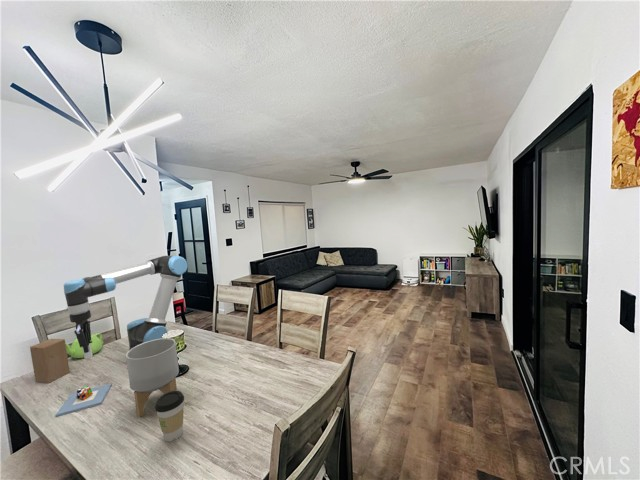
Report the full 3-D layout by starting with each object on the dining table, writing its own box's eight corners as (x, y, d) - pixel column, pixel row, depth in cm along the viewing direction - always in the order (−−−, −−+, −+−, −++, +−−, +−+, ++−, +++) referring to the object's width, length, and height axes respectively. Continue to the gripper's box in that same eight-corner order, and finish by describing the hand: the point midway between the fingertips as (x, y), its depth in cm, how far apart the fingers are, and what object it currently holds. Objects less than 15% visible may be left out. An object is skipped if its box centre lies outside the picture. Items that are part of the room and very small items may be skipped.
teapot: (72, 366, 157) (68, 345, 156) (56, 362, 162) (53, 342, 161) (111, 348, 178) (108, 329, 177) (96, 345, 183) (94, 327, 182)
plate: (111, 384, 135) (111, 382, 135) (101, 404, 121) (101, 401, 121) (71, 395, 129) (71, 393, 129) (55, 417, 114) (55, 414, 114)
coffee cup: (166, 426, 105) (162, 391, 104) (191, 423, 106) (188, 388, 105) (153, 447, 96) (148, 408, 94) (181, 443, 96) (176, 405, 95)
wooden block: (49, 383, 140) (43, 347, 139) (35, 382, 142) (29, 346, 141) (70, 372, 150) (65, 338, 148) (56, 371, 152) (51, 338, 150)
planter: (190, 392, 126) (184, 340, 124) (154, 421, 108) (147, 361, 106) (161, 385, 132) (155, 336, 130) (122, 413, 114) (115, 356, 112)
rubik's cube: (77, 400, 124) (73, 392, 122) (89, 392, 128) (85, 383, 127) (82, 402, 122) (78, 393, 121) (94, 393, 127) (90, 385, 125)
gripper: (74, 309, 131) (83, 353, 134) (63, 318, 119) (73, 366, 122) (93, 306, 134) (102, 349, 137) (84, 314, 123) (94, 361, 126)
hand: (88, 357), depth 130 cm, fingers closed
